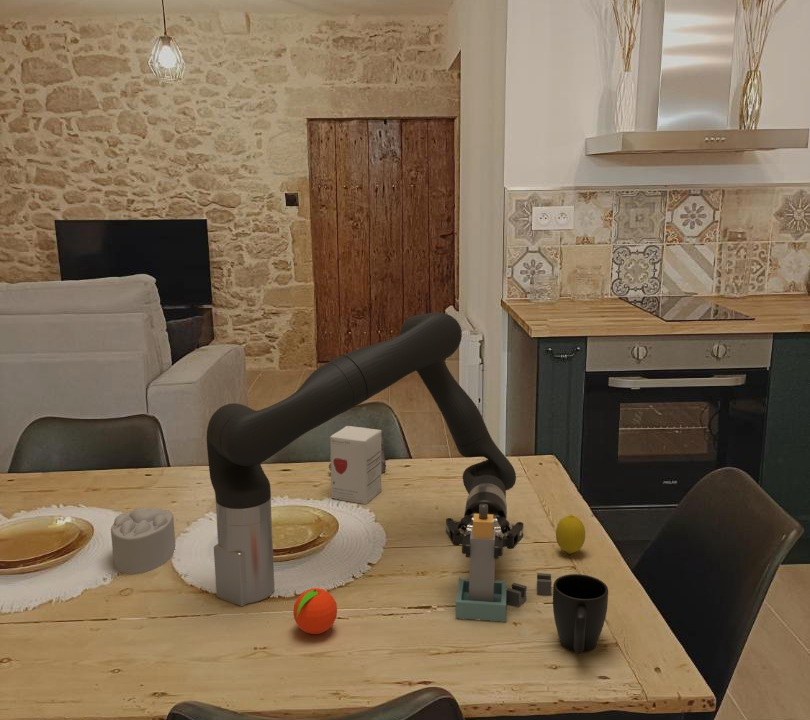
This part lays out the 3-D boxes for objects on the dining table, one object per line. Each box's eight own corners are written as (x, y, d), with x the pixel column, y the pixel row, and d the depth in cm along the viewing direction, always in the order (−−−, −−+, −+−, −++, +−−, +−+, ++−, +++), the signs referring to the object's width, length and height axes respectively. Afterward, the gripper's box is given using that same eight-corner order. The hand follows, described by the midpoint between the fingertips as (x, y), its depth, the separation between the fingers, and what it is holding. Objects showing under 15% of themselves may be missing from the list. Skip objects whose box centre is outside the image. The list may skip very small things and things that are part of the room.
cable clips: (535, 612, 133) (535, 598, 133) (505, 603, 136) (506, 589, 136) (557, 588, 141) (557, 575, 141) (528, 580, 144) (529, 567, 143)
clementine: (315, 651, 123) (314, 608, 121) (280, 637, 126) (278, 596, 125) (346, 626, 129) (345, 586, 128) (312, 614, 133) (311, 575, 131)
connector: (493, 601, 132) (495, 510, 129) (468, 600, 133) (470, 509, 129) (493, 589, 136) (496, 501, 132) (470, 588, 137) (471, 500, 133)
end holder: (505, 622, 130) (506, 605, 130) (455, 618, 131) (455, 602, 131) (506, 597, 138) (506, 581, 138) (459, 594, 139) (459, 578, 139)
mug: (547, 668, 118) (549, 609, 116) (552, 625, 130) (555, 571, 127) (604, 675, 116) (608, 616, 114) (605, 631, 128) (608, 576, 126)
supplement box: (329, 499, 181) (328, 435, 178) (347, 485, 189) (346, 424, 186) (366, 505, 178) (365, 440, 174) (382, 491, 186) (382, 429, 183)
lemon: (584, 561, 151) (586, 521, 149) (554, 558, 152) (556, 519, 151) (584, 548, 156) (586, 510, 155) (555, 546, 158) (556, 508, 156)
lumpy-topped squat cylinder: (180, 543, 159) (178, 502, 157) (158, 575, 146) (155, 531, 144) (129, 543, 159) (125, 502, 157) (102, 574, 147) (98, 530, 145)
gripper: (447, 488, 146) (438, 528, 130) (526, 492, 144) (527, 533, 128) (446, 527, 148) (438, 571, 131) (524, 531, 146) (525, 576, 130)
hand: (482, 552), depth 130 cm, fingers closed on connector, 4 cm apart
